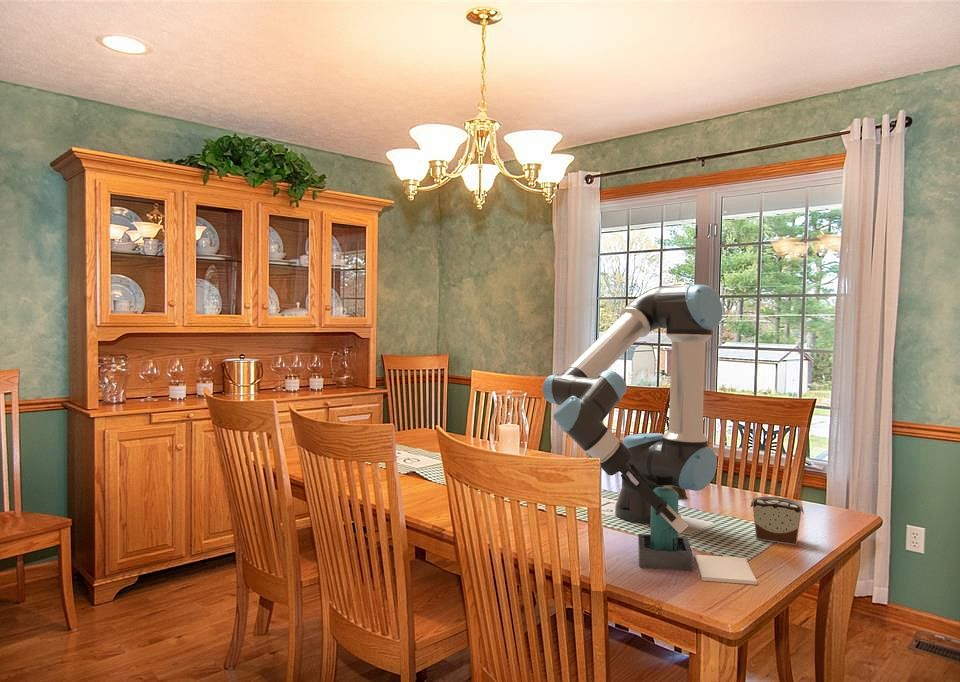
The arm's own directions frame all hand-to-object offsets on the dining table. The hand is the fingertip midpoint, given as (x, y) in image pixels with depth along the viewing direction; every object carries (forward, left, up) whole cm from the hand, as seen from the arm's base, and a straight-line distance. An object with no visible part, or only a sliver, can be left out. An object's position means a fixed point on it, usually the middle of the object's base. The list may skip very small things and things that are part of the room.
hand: (680, 524), depth 158 cm
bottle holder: (0, -4, -8) cm, 9 cm away
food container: (-22, +26, -9) cm, 35 cm away
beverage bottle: (0, -4, -9) cm, 9 cm away
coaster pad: (+4, +9, -8) cm, 13 cm away
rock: (-61, +2, -9) cm, 61 cm away
